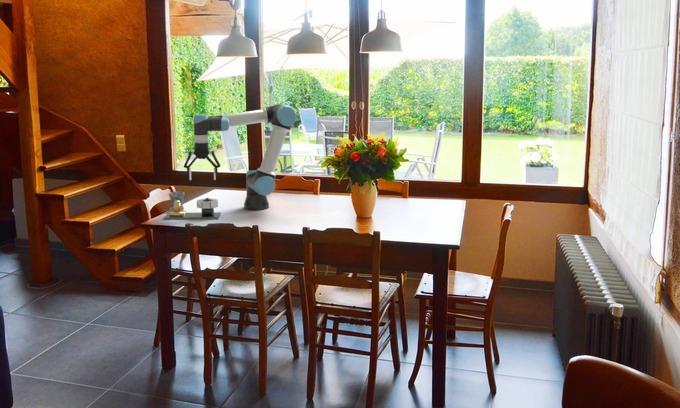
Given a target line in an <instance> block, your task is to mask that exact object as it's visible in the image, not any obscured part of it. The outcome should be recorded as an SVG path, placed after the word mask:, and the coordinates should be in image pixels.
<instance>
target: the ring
mask: <svg viewBox="0 0 680 408" xmlns="http://www.w3.org/2000/svg"><path fill="white" fill-rule="evenodd" d="M218 207H219V200H218V199H217V198H209V201H206V198H201V199H199V198H198V199H197V200H196V208H198V209H202V208H203V209H210V208H214V209H215V208H218Z"/></svg>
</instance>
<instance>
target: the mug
mask: <svg viewBox="0 0 680 408" xmlns="http://www.w3.org/2000/svg"><path fill="white" fill-rule="evenodd" d="M167 194H168V196H169V198H170V199H169V200H170V206H169V211H174V201H175V200H179V201H180V206H181V210H183V211H185V207H184V205H183V202H184V200H185V196H186V195H185V192H184V191H170V192H168V193H167Z"/></svg>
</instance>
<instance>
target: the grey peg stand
mask: <svg viewBox="0 0 680 408" xmlns="http://www.w3.org/2000/svg"><path fill="white" fill-rule="evenodd" d="M205 199H206V201H209V199H210V197H205ZM214 209H215V208H210V209H203V208H201V212H187V211H186V210H181V206H180V201H179V200H175V201H174V211H171V210H169V212H167V213H166V214H165V216H164V217H163V220H171V221H172V220H219V219H220V216H221V214H222V213H221V212H219V211H218V212H217V211H216V212H215V210H214Z"/></svg>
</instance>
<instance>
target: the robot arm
mask: <svg viewBox="0 0 680 408" xmlns="http://www.w3.org/2000/svg"><path fill="white" fill-rule="evenodd" d="M296 120H297V112H296V111H295V108H293V107H292V106H291V105H287V104H282V103H280V104H279V103H278V104H274V105H270V106H265V107H262V108H261V109H255V110H249V111H242V112H234V113H226V114H219V115H209V116H208V115H207V114H204V113H203V114H202V113H201V114H195V115H193V139H194V143H193V145H194V150H193V151H192V150H189V151H188V156H187V159H186V160H185V163H184V165H183V168H185V169H186V172H187V175H189V176H188V177H189V178H188V179H189V181H192V168H191V166H192V165H193V164H194V163H195V161H196V160H197V159H199V160H205V159H206V160H207V161H208V162H209V164H210V165H212V166H213V167H214V168H213V181H216V179H217V178H216V177H217V174H218V168H221V164H220V161H219V160H218V159H217V156H216V155H215V150H209V132H226V131H229V128H231V127H239V126H245V125H254V124H259V123H260V124H261V123H264V124H270V126H271V132H270V136H269V139H268V140H267V141H268V142H267V144H266V148H265V152H264V155H263V157H262V161H261V165H260V167H258V168H257V169H256V170H247V171H246V175H245V178H246V184H245V185H246V196H245V200H244V203H243V208H244V210H250V211H251V210H252V211H258V210H260V211H261V210H266V209H269V208H270V204H269V200H268V197H267V196H269V195H270V194H272V193H273V192H274V191H275V189H276V181H275V180H276V177H277V174H276V172H275V171H276V168H277V165H278V162H279V159H280V155H281V152H282V148H283V145H284V143H285V140H286V139H285V138H286V135H287V133H289V132H290V131H291V128H292V126H293V125H294V124H295V123H296V122H297V121H296ZM193 155H194V156H195V157H194V158H193V159H192V160H191V162H190V163H189V161H190V159H191V156H193ZM209 155H210V156H212V158H213V160H214V161H215V162H214V161H213V160H212V159H211V158H210V157H209ZM188 163H189V164H188Z"/></svg>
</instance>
